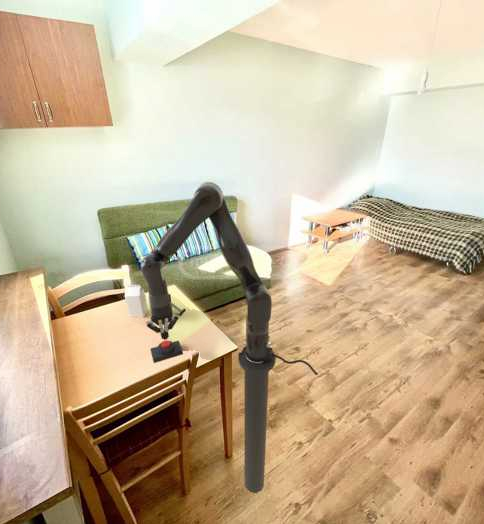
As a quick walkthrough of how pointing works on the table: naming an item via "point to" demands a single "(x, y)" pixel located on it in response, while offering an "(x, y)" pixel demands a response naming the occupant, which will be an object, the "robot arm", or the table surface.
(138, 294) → the milk carton
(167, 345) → the button
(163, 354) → the control block
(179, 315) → the lever
